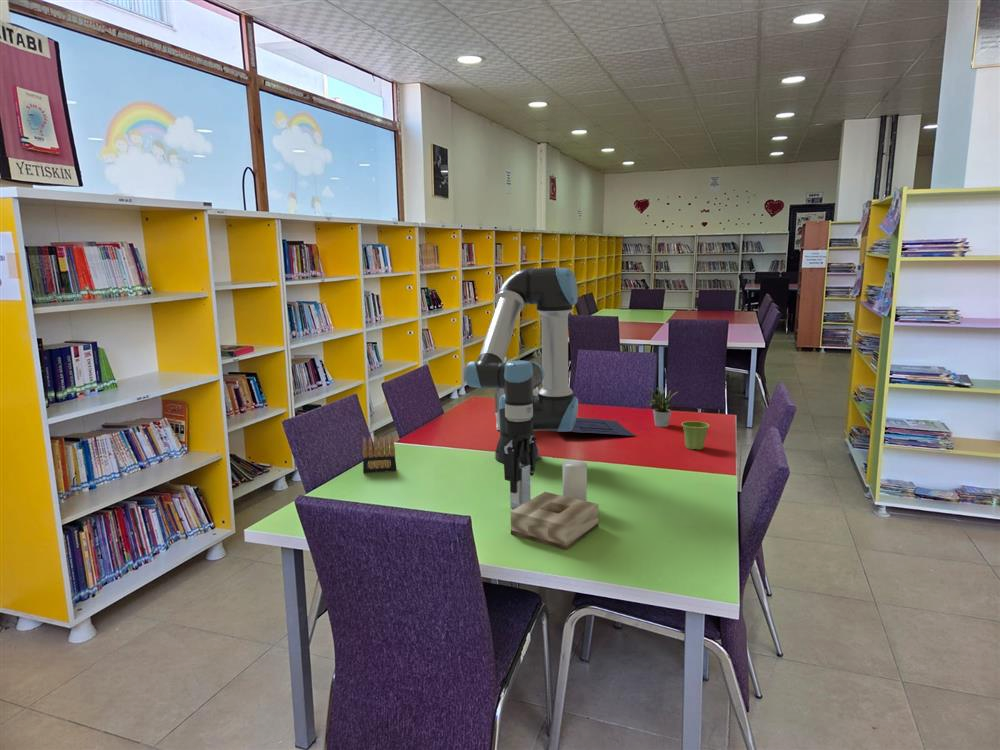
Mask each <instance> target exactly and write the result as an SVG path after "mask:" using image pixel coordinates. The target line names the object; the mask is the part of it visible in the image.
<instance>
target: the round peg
mask: <svg viewBox="0 0 1000 750" xmlns="http://www.w3.org/2000/svg"><path fill="white" fill-rule="evenodd" d="M587 467H588V464H587V462H585V461H583V460H576V459H575V460H574V459H573V460H572V459H571V460H566V461H564V462H563V463H562V496H566V497H570V498H574V499H579V500H583V501H587V500H588V499H587V495H588V491H587V490H588V489H587V487H588V486H587V485H588V482H587V480H588V474H587V473H588V470H587ZM587 502H588V501H587Z"/></svg>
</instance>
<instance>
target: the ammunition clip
mask: <svg viewBox="0 0 1000 750" xmlns="http://www.w3.org/2000/svg"><path fill="white" fill-rule="evenodd" d="M389 440H390V442H389ZM367 444H368V445H367ZM385 471H389V472H397V461H396V447H395V441H394V435H392V434H391V436H390V439H389V438H388V435H385V436H384V441H383V436H382V435H380V437H379V443H378V437H377V436H376V435H375V436H374V438H373V440H372V437H371V436H369V437H368V442H367V439H366V437H365V436H363V438H362V472H363V474H366V473H368V474H369V473H386V472H385Z"/></svg>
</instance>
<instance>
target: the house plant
mask: <svg viewBox="0 0 1000 750" xmlns="http://www.w3.org/2000/svg"><path fill="white" fill-rule="evenodd" d="M647 388H648V389H650V390H651V391H652V392H651V391H647V392H648V393H646V392H645V394H648V395H650V396H651V397H652V398H653V399H652V400H651V401H645V402H647V403H649V406H648V407H651V406H653V405H656V408H655V409H653V410H652V411H653V418H654V419H653V420H654V425H655V427H658V428H667V427H669V423H670V419H671V415H672V410H671V409H670V407H671V406H673V405H675V403H674V401H670V399H672V397H674V396H675V395H676V394H677V393H678V392H680V391H679V390H678V391H676V392H674V393H673V394H671V389H670V390H669V392H668V393H667V395H666V396H665V397H664V393H665V391H662V393H661V391H660V389H659V387H656V390H657V393H658V394H656V392H655V391H654V390H653V389H652V388H650V387H649V386H648V387H647ZM663 390H666V387H664V388H663ZM650 393H651V394H650Z"/></svg>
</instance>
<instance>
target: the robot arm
mask: <svg viewBox="0 0 1000 750" xmlns="http://www.w3.org/2000/svg"><path fill="white" fill-rule="evenodd" d="M578 296H579V291H578V283H577V278H576V276H575V273H574V271H573V270H572V269H571V268H567V267H542V268H538V267H537V268H531V267H529V268H528V267H527V268H522V269H519V270H517V271H515V272H514V273H512V274H511V275H510V276H508V278H507V279H505V280H504V282H503V283H501V286H500V287H499V289H498V290H497V293H496V295H495V300H494V301H495V302H494V303H495V309H494V311H493V314H492V317H491V320H490V323H489V326H488V329H487V331H486V334H485V338H484V340H483V344H482V346H481V349H480V352H479V356H478V358H477V361H476V360H474V361H468V363H467V364H466V365H465V369H464V380H465V383H466V384H467V386H468V387H471V388H478V389H495V388H501V389H505V394H503V395H502V396H501V397H500V402H499V419H500V431H499V438H498V442H497V446H496V449H495V452H494V453H495V454H494V456H495V460H496V461H498V462H499V463H503V471H504V475H503V476H504V480H505V481H508V482H509V492H511V503H515V504H520V481H518V477H519V467H520V463H525V464H530V477H533V476H534V474H535V473H534V472H535V470H536V461H537V460H539V458H540V452H539V451H540V450H539V449H538V445H537V436H534V435H535V434H534V433H535V431H545V432H546V431H547V432H549V431H550V432H558V433H560V432H569V431H571V430H572V429H573V427H574V424H575V421H576V418H578V417H577V415H578V411H579V398H578V397H576V396H574V390H572V388H571V387H569V320H568V319H569V314H570V313H571V312H572V311H573V306H575V305H577V303H578V300H579V299H578ZM526 305H536V312H538V314H539V315H540V316H541V319H540V320H541V322H540V323H541V364H540V363H538V362H536V361H534V360H533V361H531V360H529V361H528V360H510V361H507V363H504V359H505V357H506V355H507V351H508V349H509V345H510V343H511V341H512V340H511V339H512V335H513V333H514V330H515V327H516V323H517V321H518V317H519V314H520V313H521V312H522V311H523V310H524V308H525V306H526ZM541 384H542V387H541V388H540V389H538V396H534V393H533V389H535V388H536V387H540V385H541Z"/></svg>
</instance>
